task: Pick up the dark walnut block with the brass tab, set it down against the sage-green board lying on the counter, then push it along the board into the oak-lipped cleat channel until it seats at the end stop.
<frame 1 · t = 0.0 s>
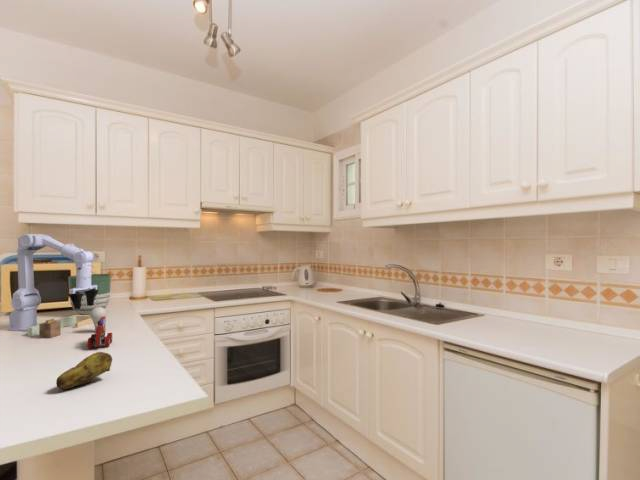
hand: (83, 307, 156), 10 cm above the countertop, fingers open, 7 cm apart
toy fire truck: (100, 346, 131), on the countertop
lightbulb: (98, 332, 151), on the countertop
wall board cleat: (62, 329, 157), on the countertop
planter: (90, 314, 189), on the countertop
cabinet block: (50, 336, 145), on the countertop
potato: (85, 384, 96), on the countertop
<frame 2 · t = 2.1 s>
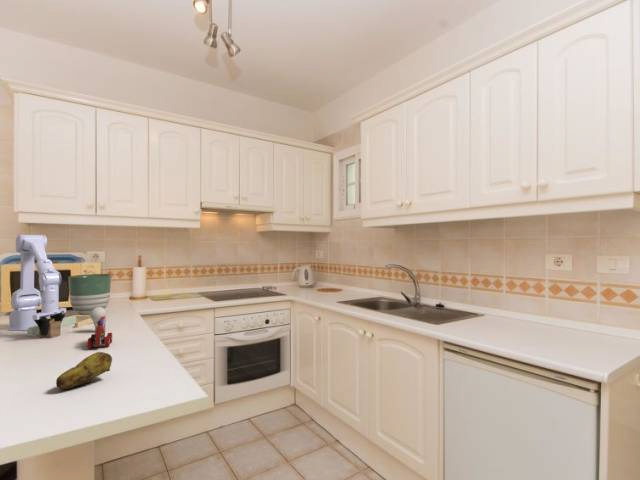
hand: (50, 333, 145), 1 cm above the countertop, fingers closed on cabinet block, 5 cm apart
cabinet block: (50, 336, 145), on the countertop, touching gripper
everything else where it was.
when the fingers open (3 cm above the countertop, at t = 5.0 s): cabinet block stays where it is, on the countertop.
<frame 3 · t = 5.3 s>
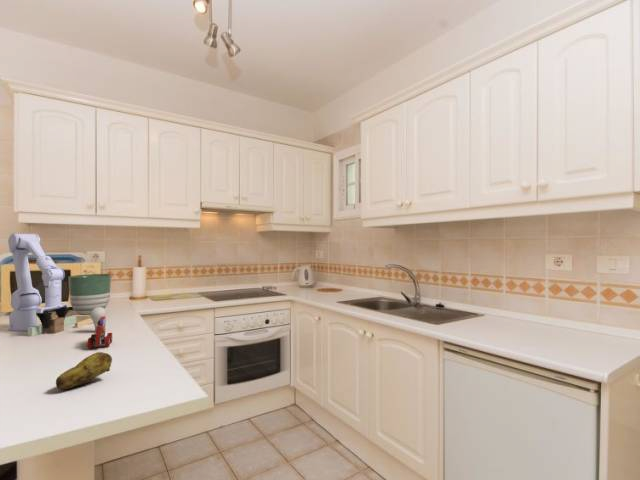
hand: (53, 326, 152), 3 cm above the countertop, fingers open, 7 cm apart
cabinet block: (53, 332, 152), on the countertop
everything else where it was.
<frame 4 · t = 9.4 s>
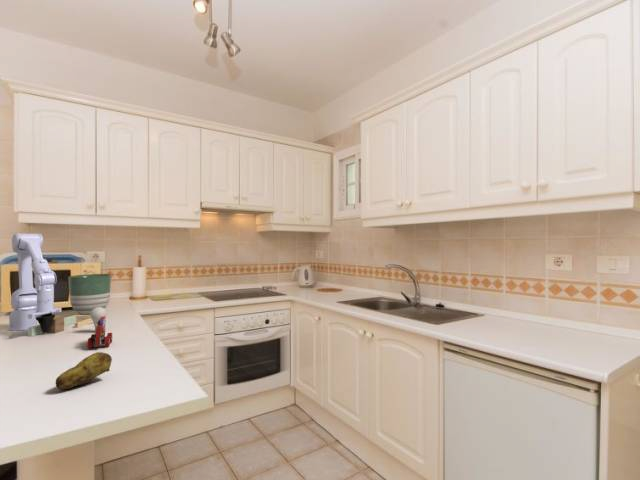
hand: (45, 332, 148), 1 cm above the countertop, fingers closed
cabinet block: (54, 331, 152), on the countertop, touching gripper
everything else where it was.
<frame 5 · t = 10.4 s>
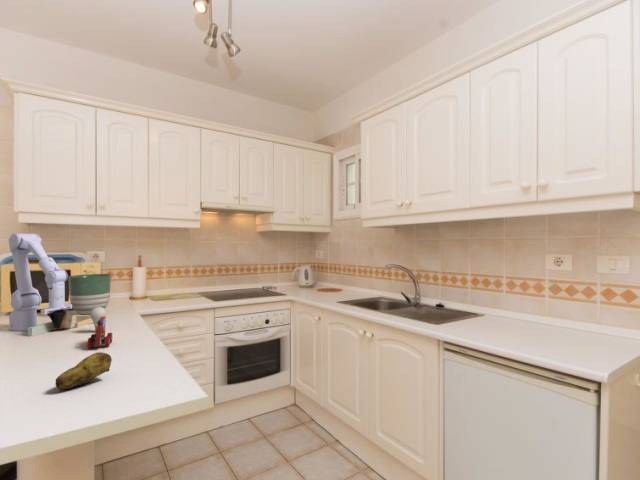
hand: (57, 327, 153), 2 cm above the countertop, fingers closed, pressing on cabinet block
cabinet block: (61, 328, 156), point 1 cm above the countertop, tilted 18°, touching gripper
everything else where it was.
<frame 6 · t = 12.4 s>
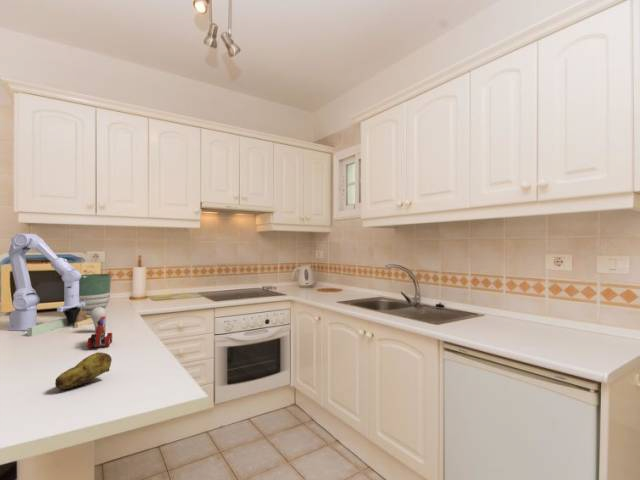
hand: (71, 324, 162), 1 cm above the countertop, fingers closed
cabinet block: (75, 323, 165), point 1 cm above the countertop, tilted 17°, touching gripper, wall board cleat
everything else where it was.
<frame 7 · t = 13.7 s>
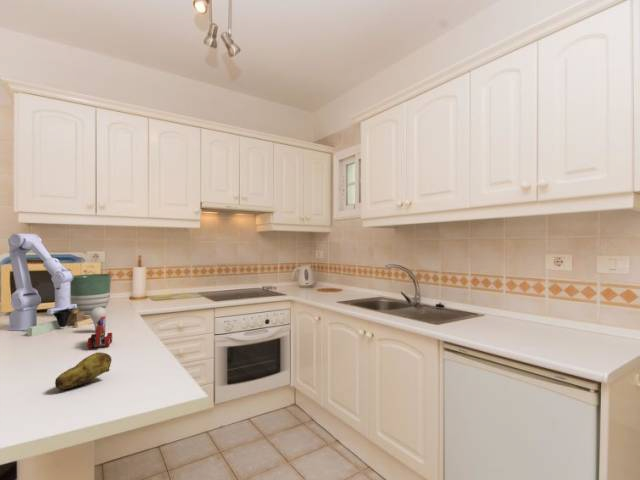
hand: (62, 326, 157), 1 cm above the countertop, fingers closed
cabinet block: (75, 324, 165), on the countertop
everything else where it was.
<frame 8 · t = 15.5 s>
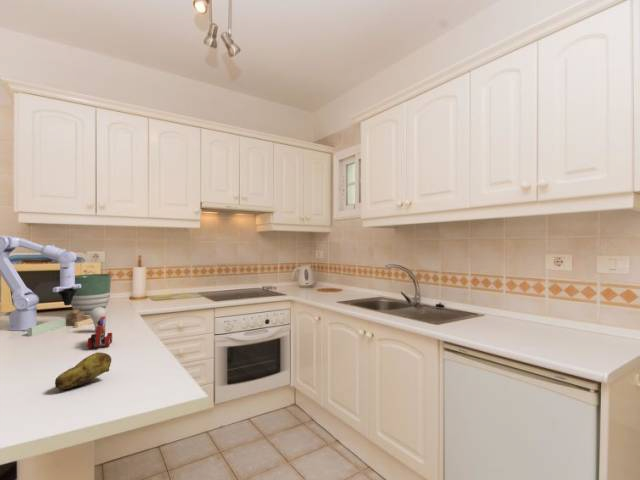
hand: (67, 305, 163), 10 cm above the countertop, fingers closed
nothing on the countertop moved.
at the end: cabinet block 0.8 cm from the target spot on the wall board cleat, point 0.0 cm above the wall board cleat's base; cabinet block tilted 0°; the gripper is holding nothing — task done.
